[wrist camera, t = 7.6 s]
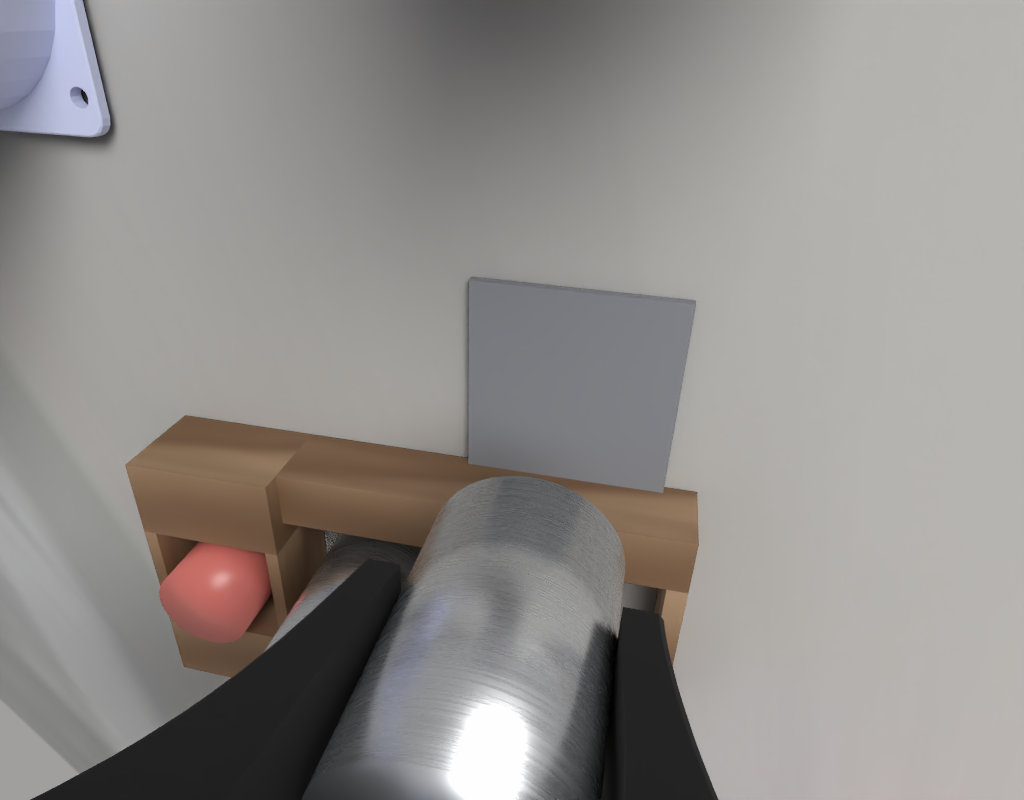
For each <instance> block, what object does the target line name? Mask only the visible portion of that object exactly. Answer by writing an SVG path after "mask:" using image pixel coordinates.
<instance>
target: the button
mask: <svg viewBox="0 0 1024 800" xmlns="http://www.w3.org/2000/svg"><path fill="white" fill-rule="evenodd" d="M271 594H272V588H271V583H270V578H269V572H268V567H267V561H266V556H265V553H260V552H255V551H249V550H244V549H238V548H233V547H227V546H222V545H216V544H211V543H205V542H200V541H199V542H198V543H197V544H196V545H195V547H194V548H193V549H192V550H191V551H190V552H189V553H188V554H187V555H186V557H185V558H184V559H183V560H182V561H181V562H180V563H179V564H178V565H177V566H176V568H175V569H174V570H173V571H172V572H171V573H170V574H169V575H168V576H167V578H166V579H165V580H164V581H163V582H162V584H161V587H160V600H161V603H162V605H163V607H164V609H165V611H166V612H167V614H168V615H169V616H170V618H171V619H172V620H173V621H174V622H175V623H176V624H177V625H179V626H180V627H181V628H182V629H184V630H185V631H187V632H188V633H190V634H192V635H194V636H196V637H198V638H200V639H203V640H206V641H210V642H215V643H228V642H233V641H235V640H237V639H239V638H240V637H241V636H242V635H243V634H244V633H245V631H246V630H247V628H248V627H249V626H250V624H251V623H252V621H253V620H254V618H255V617H256V616H257V614H258V613H259V611H260V610H261V608H262V607H263V606H264V604H265V603H266V601H267V600H268V598H269V597H270V595H271Z"/></svg>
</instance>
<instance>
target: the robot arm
mask: <svg viewBox="0 0 1024 800" xmlns="http://www.w3.org/2000/svg"><path fill="white" fill-rule="evenodd" d="M81 89H82V90H83V91H84V92H85V93H86V95H87V97H88V105H87V104H86V103H85V102H84V100H83V98H82V96H81ZM110 125H111V124H110V115H109V111H108V107H107V102H106V98H105V94H104V90H103V85H102V81H101V77H100V73H99V68H98V64H97V60H96V55H95V51H94V47H93V43H92V38H91V34H90V30H89V26H88V21H87V17H86V13H85V8H84V4H83V0H0V130H3V131H16V132H28V133H41V134H53V135H66V136H78V137H96V136H101V135H104V134H106V133H107V132H108V131H109V128H110ZM400 593H401V566H400V564H395V563H390V562H384V561H379V560H374V559H368V560H366V561H365V562H363V563H362V564H361V565H360V566H359V567H358V568H357V569H356V570H355V571H354V572H353V573H352V574H351V575H350V576H349V577H348V578H347V579H346V580H345V581H344V582H342V583H341V584H340V585H339V586H338V587H337V588H336V589H335V590H334V591H333V592H332V593H331V594H330V595H329V596H328V597H327V598H325V599H324V600H323V601H322V602H321V603H320V604H319V605H318V606H317V607H316V608H315V609H314V610H312V611H311V612H310V613H309V614H308V615H307V616H306V617H305V618H303V619H302V620H301V621H300V622H299V623H298V624H297V625H295V626H294V627H293V628H292V629H291V630H290V631H289V632H287V633H286V634H285V635H284V636H283V637H282V638H281V639H279V640H278V641H277V642H276V643H275V644H273V645H272V646H271V647H270V648H268V649H267V650H266V651H265V652H263V653H262V654H261V655H260V656H258V657H257V658H256V659H255V660H253V661H252V662H251V663H250V664H248V665H247V666H246V667H245V668H243V669H242V670H241V671H240V672H238V673H237V674H236V675H235V676H233V677H232V678H231V679H229V680H228V681H227V682H225V683H224V684H223V685H221V686H220V687H219V688H217V689H216V690H214V691H213V692H212V693H210V694H209V695H207V696H206V697H205V698H203V699H202V700H200V701H199V702H197V703H196V704H194V705H193V706H192V707H190V708H189V709H187V710H186V711H184V712H183V713H181V714H180V715H178V716H177V717H175V718H174V719H172V720H171V721H169V722H167V723H166V724H164V725H163V726H161V727H159V728H158V729H156V730H155V731H153V732H152V733H150V734H148V735H147V736H145V737H144V738H142V739H141V740H139V741H137V742H136V743H134V744H132V745H131V746H129V747H127V748H126V749H124V750H122V751H120V752H119V753H117V754H115V755H114V756H112V757H110V758H108V759H106V760H105V761H103V762H101V763H99V764H97V765H95V766H93V767H92V768H90V769H88V770H86V771H84V772H82V773H81V774H79V775H77V776H75V777H73V778H71V779H70V780H68V781H66V782H64V783H62V784H60V785H59V786H57V787H55V788H53V789H51V790H49V791H47V792H45V793H43V794H41V795H39V796H37V797H35V798H33V799H31V800H302V797H303V795H304V793H305V791H306V789H307V787H308V785H309V783H310V781H311V778H312V776H313V774H314V772H315V770H316V768H317V766H318V764H319V762H320V760H321V758H322V755H323V753H324V751H325V749H326V747H327V745H328V743H329V741H330V739H331V737H332V735H333V733H334V730H335V728H336V726H337V724H338V722H339V720H340V718H341V716H342V714H343V712H344V710H345V708H346V705H347V703H348V701H349V699H350V697H351V695H352V693H353V691H354V689H355V687H356V685H357V682H358V680H359V678H360V676H361V674H362V672H363V670H364V668H365V666H366V664H367V662H368V660H369V657H370V655H371V653H372V651H373V649H374V647H375V645H376V643H377V641H378V639H379V637H380V634H381V632H382V630H383V628H384V626H385V624H386V622H387V620H388V618H389V616H390V614H391V612H392V609H393V607H394V605H395V603H396V601H397V599H398V597H399V595H400ZM601 800H718V798H717V795H716V793H715V791H714V788H713V786H712V783H711V781H710V778H709V776H708V773H707V771H706V768H705V766H704V763H703V760H702V758H701V755H700V752H699V750H698V747H697V744H696V741H695V739H694V736H693V733H692V730H691V727H690V724H689V721H688V718H687V715H686V712H685V708H684V705H683V702H682V699H681V696H680V692H679V689H678V686H677V682H676V678H675V674H674V670H673V667H672V663H671V658H670V654H669V649H668V644H667V639H666V633H665V626H664V620H663V618H662V617H661V616H660V615H659V614H657V613H651V612H646V611H641V610H636V609H630V608H625V607H623V611H622V617H621V622H620V628H619V633H618V639H617V649H616V658H615V668H614V678H613V688H612V700H611V712H610V721H609V731H608V741H607V750H606V760H605V770H604V779H603V789H602V799H601Z"/></svg>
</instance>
